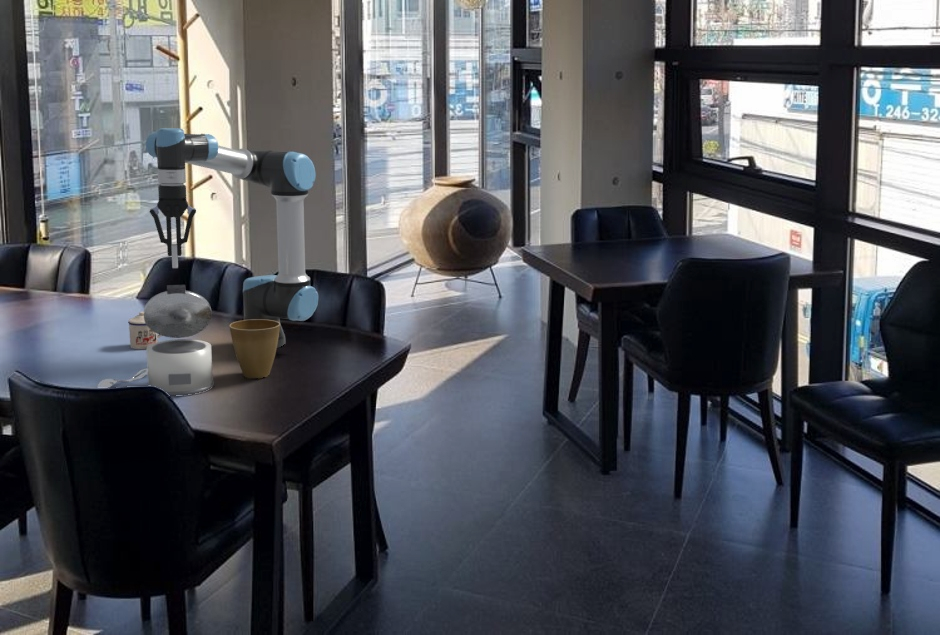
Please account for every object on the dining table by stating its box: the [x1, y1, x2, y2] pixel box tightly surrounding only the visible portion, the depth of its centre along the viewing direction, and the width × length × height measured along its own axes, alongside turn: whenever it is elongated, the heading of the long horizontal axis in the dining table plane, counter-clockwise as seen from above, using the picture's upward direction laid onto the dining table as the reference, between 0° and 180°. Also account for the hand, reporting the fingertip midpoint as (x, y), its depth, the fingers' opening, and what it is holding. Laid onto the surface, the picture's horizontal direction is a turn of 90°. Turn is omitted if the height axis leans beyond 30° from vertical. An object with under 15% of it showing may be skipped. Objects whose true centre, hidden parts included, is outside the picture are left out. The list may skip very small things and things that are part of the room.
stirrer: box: [97, 368, 148, 388], centre depth 323 cm, size 20×4×5 cm
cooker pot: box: [146, 338, 215, 397], centre depth 318 cm, size 19×19×12 cm
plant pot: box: [229, 319, 281, 379], centre depth 330 cm, size 15×15×16 cm
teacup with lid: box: [128, 311, 163, 351], centre depth 362 cm, size 12×9×12 cm
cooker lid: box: [143, 284, 213, 339], centre depth 318 cm, size 19×21×2 cm
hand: (175, 267), depth 313 cm, fingers closed
